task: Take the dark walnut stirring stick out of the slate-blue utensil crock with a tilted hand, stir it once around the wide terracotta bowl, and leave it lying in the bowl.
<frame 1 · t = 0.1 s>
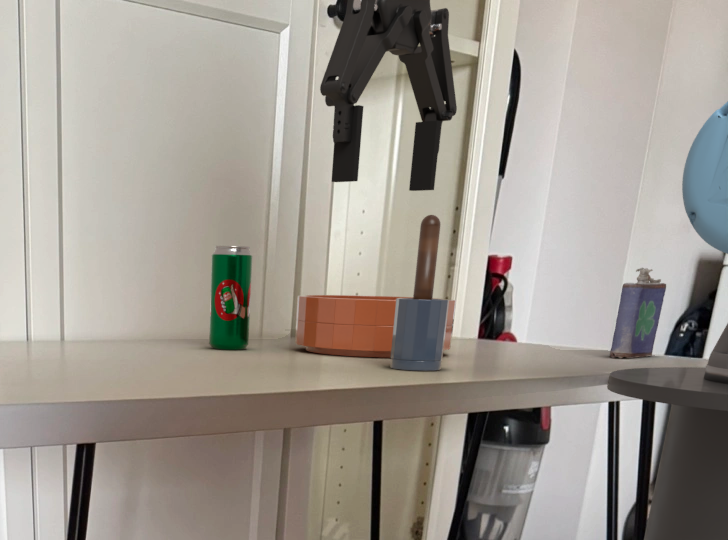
hand: (384, 186, 108), 18 cm above the table, tool pointing down, fingers open, 13 cm apart
soda can: (228, 350, 132), on the table
flask: (629, 358, 135), on the table
stirring stick: (416, 358, 111), point 1 cm above the table, touching crock
crock: (415, 368, 111), on the table
bowl: (371, 352, 132), on the table
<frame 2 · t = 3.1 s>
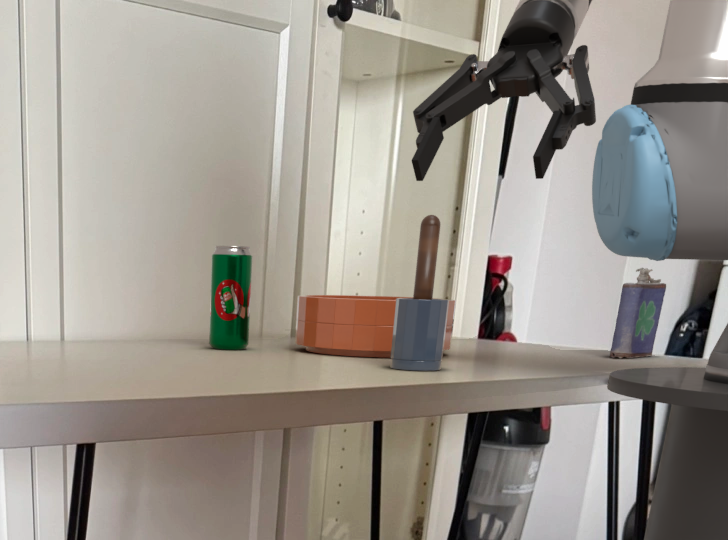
hand: (475, 169, 111), 20 cm above the table, tool tilted 45°, fingers open, 13 cm apart
nothing on the table moved.
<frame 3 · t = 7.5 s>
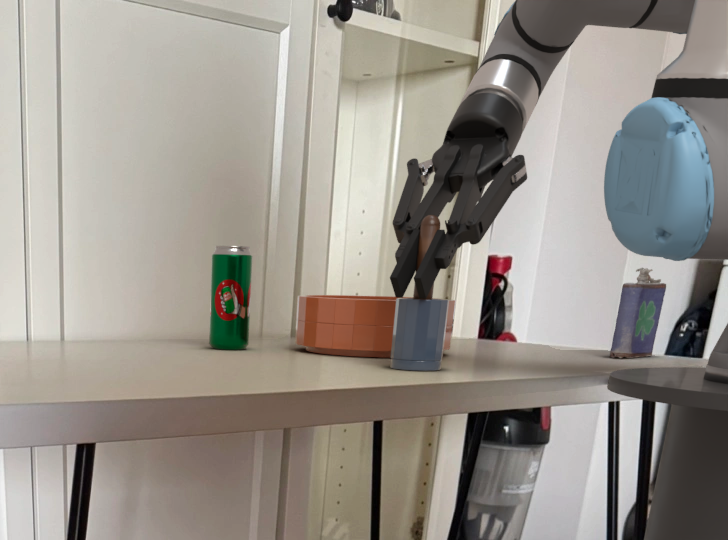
hand: (408, 287, 105), 8 cm above the table, tool tilted 45°, fingers closed on stirring stick, 2 cm apart
stirring stick: (416, 358, 111), point 1 cm above the table, touching crock, gripper
everything else where it was.
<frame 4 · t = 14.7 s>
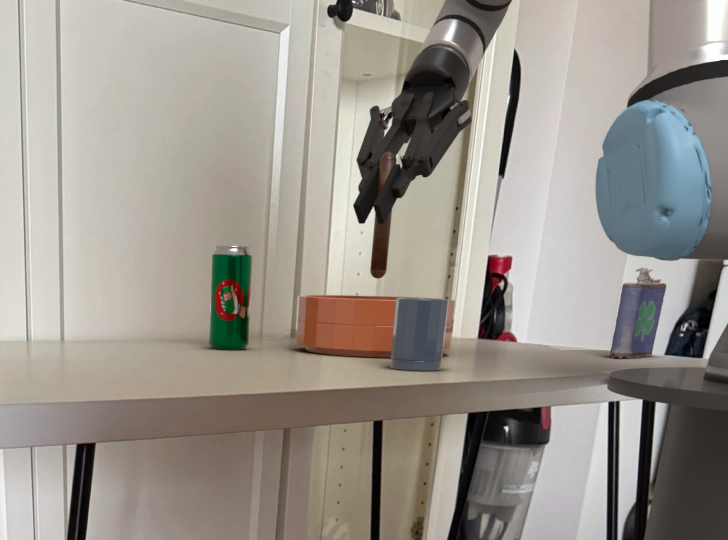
hand: (368, 214, 123), 16 cm above the table, tool tilted 45°, fingers closed on stirring stick, 2 cm apart
stirring stick: (377, 278, 129), point 9 cm above the table, touching gripper
everything else where it was.
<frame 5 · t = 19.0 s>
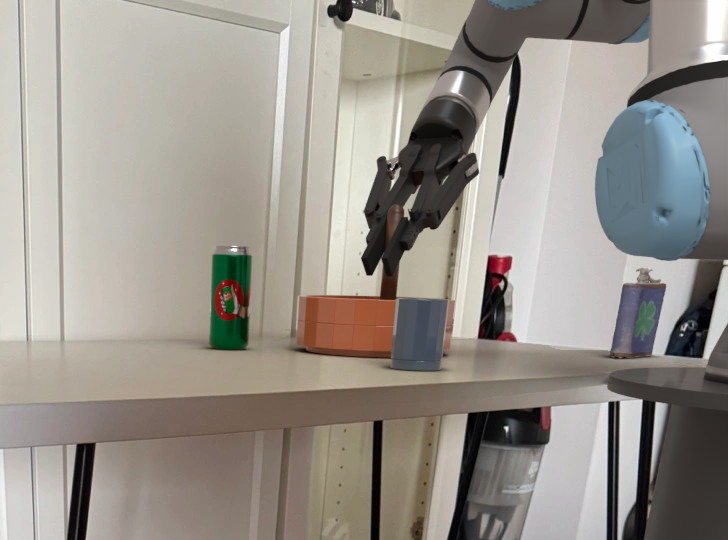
hand: (376, 266, 122), 10 cm above the table, tool tilted 45°, fingers closed on stirring stick, 2 cm apart
stirring stick: (385, 329, 128), point 3 cm above the table, touching gripper
everything else where it was.
when the fingers open (8 cm above the table, at t = 22.3 s): stirring stick stays where it is, resting on bowl.
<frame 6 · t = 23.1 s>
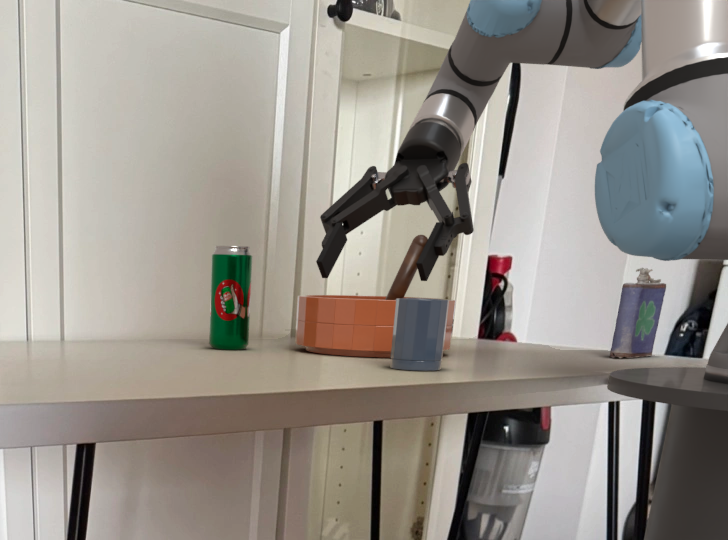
hand: (370, 271, 126), 10 cm above the table, tool tilted 45°, fingers open, 13 cm apart
stirring stick: (372, 344, 132), point 1 cm above the table, tilted 25°, touching bowl, gripper
everything else where it was.
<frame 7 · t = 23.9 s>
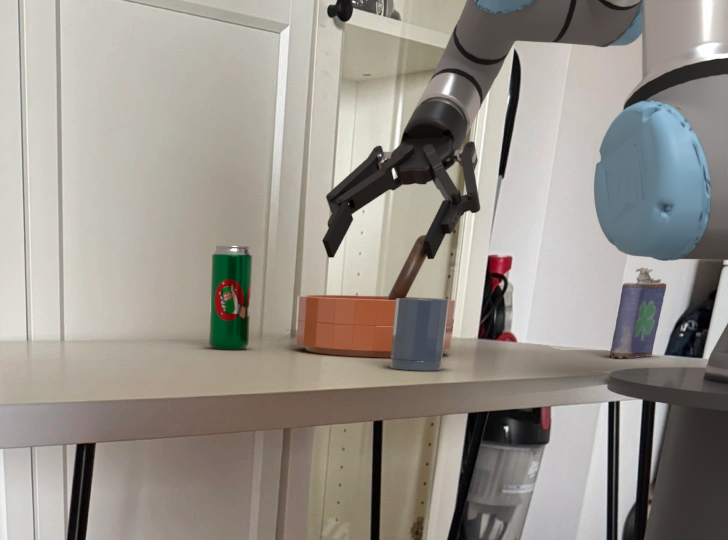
hand: (376, 249, 126), 12 cm above the table, tool tilted 45°, fingers open, 13 cm apart
nothing on the table moved.
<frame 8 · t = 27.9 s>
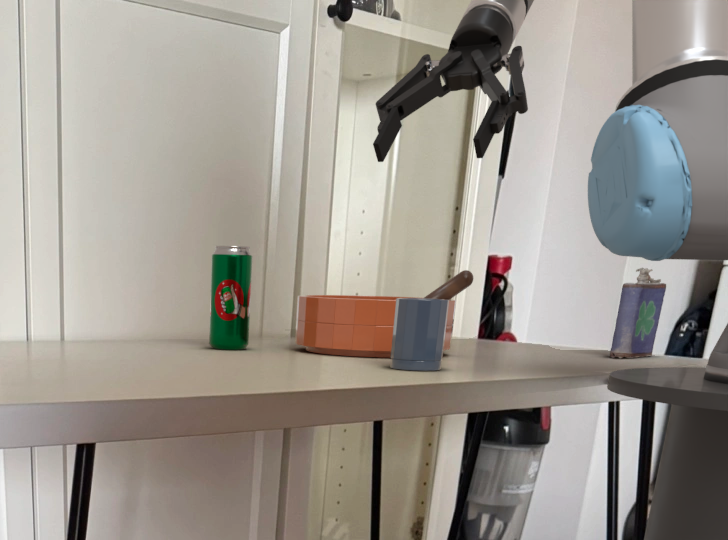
hand: (426, 151, 130), 24 cm above the table, tool tilted 45°, fingers open, 13 cm apart
stirring stick: (373, 342, 132), point 1 cm above the table, tilted 54°, touching bowl
everything else where it was.
at the end: stirring stick inside the target area in the bowl (0.2 cm from its centre), point 1.2 cm above the bowl's base; stirring stick moved 22.7 cm from its start; the gripper is holding nothing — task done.
